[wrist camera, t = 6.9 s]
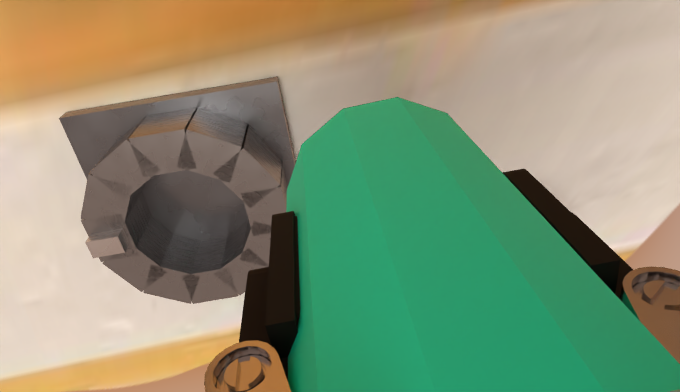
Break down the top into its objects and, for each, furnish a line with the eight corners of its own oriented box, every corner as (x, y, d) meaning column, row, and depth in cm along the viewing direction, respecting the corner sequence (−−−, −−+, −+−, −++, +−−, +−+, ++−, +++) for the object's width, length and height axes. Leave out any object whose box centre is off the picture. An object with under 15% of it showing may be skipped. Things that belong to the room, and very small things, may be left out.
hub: (277, 76, 31) (274, 106, 26) (313, 248, 38) (317, 300, 33) (66, 112, 31) (19, 149, 26) (140, 278, 38) (115, 335, 33)
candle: (499, 101, 14) (1217, 641, 3) (460, 272, 16) (769, 864, 6) (289, 91, 13) (290, 749, 2) (284, 271, 16) (276, 943, 5)
